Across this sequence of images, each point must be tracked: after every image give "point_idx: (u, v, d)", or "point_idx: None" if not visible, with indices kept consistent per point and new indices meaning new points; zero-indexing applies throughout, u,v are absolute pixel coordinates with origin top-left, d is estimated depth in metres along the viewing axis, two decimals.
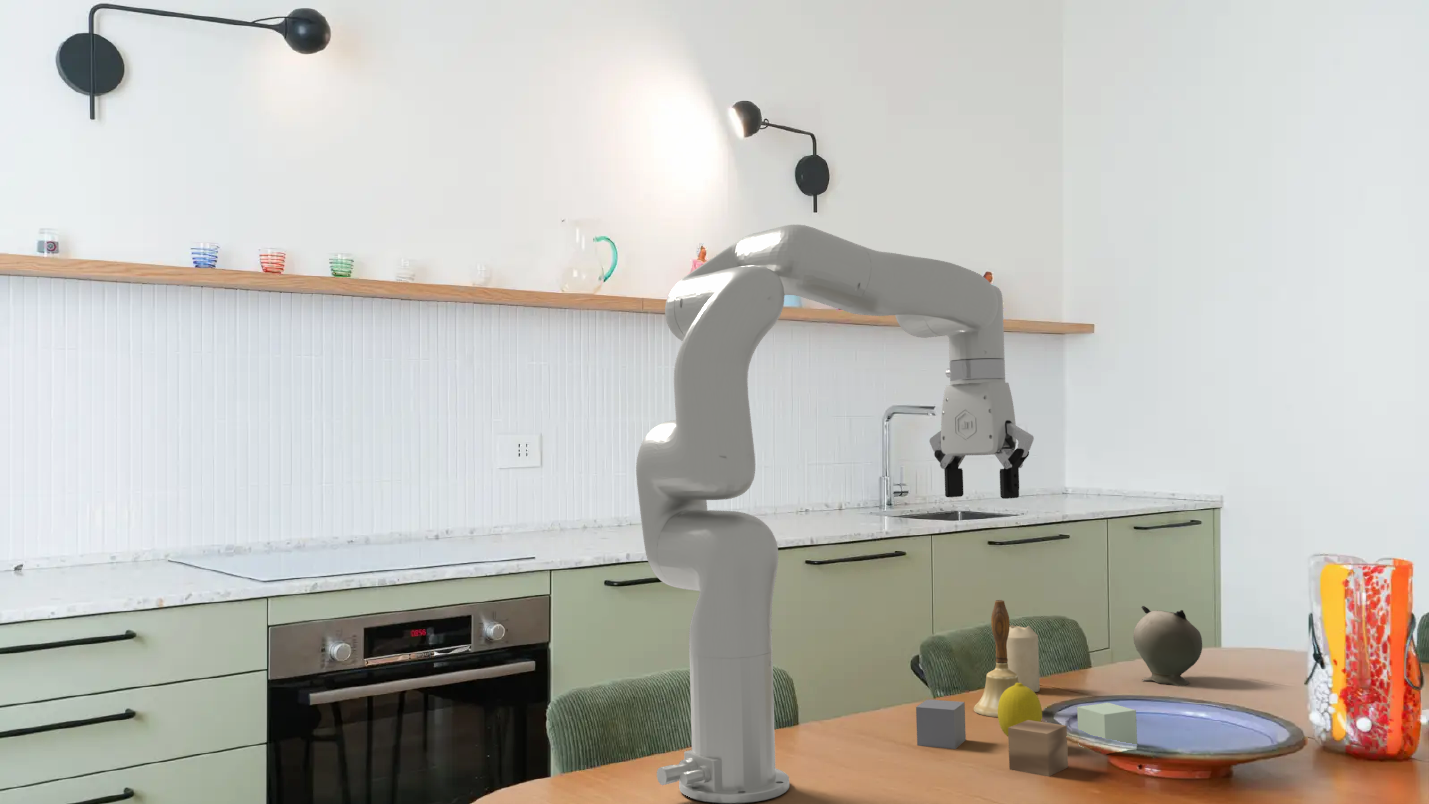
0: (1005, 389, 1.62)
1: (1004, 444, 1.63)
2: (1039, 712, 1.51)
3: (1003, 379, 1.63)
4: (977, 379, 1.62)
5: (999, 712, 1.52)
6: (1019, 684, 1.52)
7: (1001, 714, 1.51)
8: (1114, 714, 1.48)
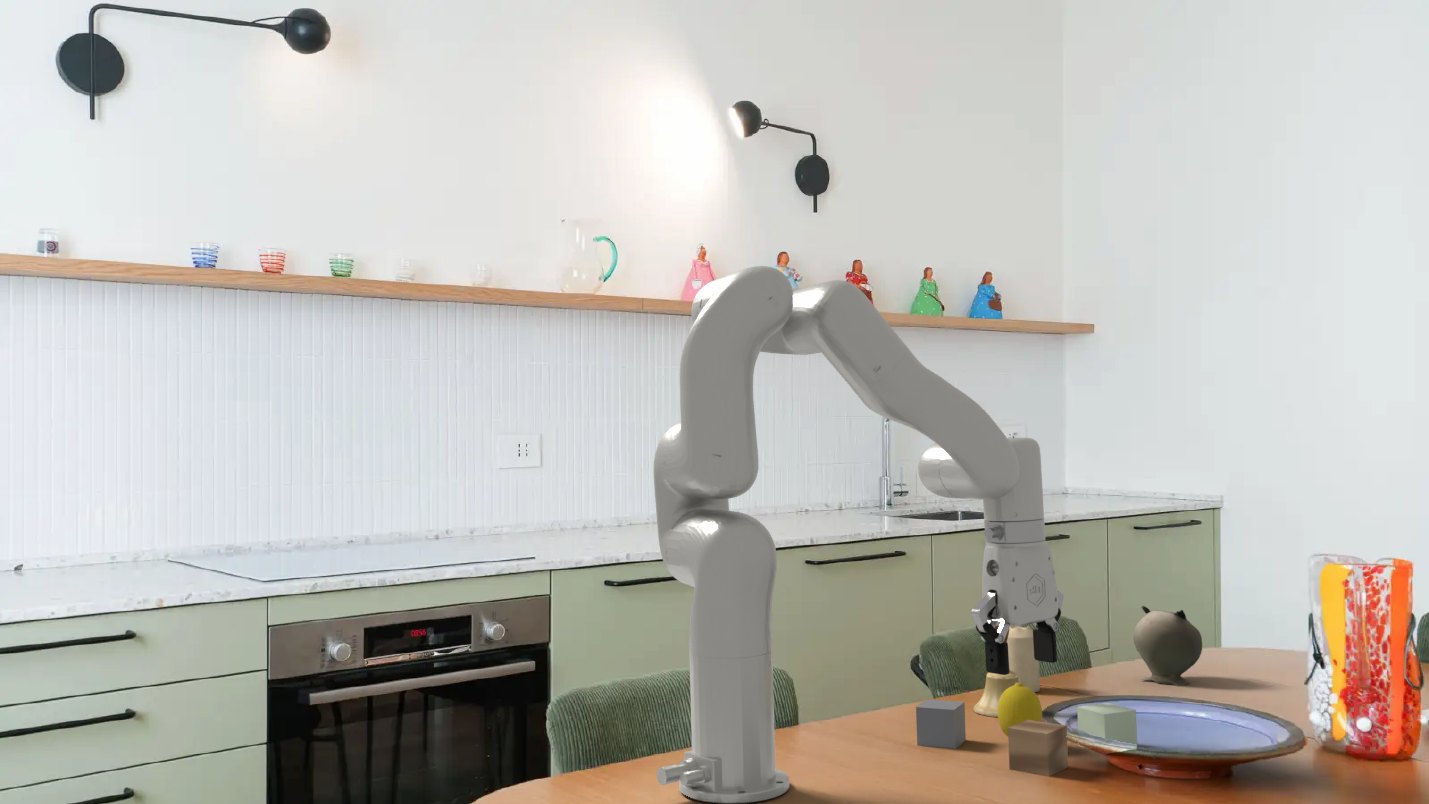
0: None
1: None
2: (1039, 712, 1.51)
3: None
4: (1044, 540, 1.52)
5: (999, 712, 1.52)
6: (1019, 684, 1.52)
7: (1001, 714, 1.51)
8: (1114, 714, 1.48)
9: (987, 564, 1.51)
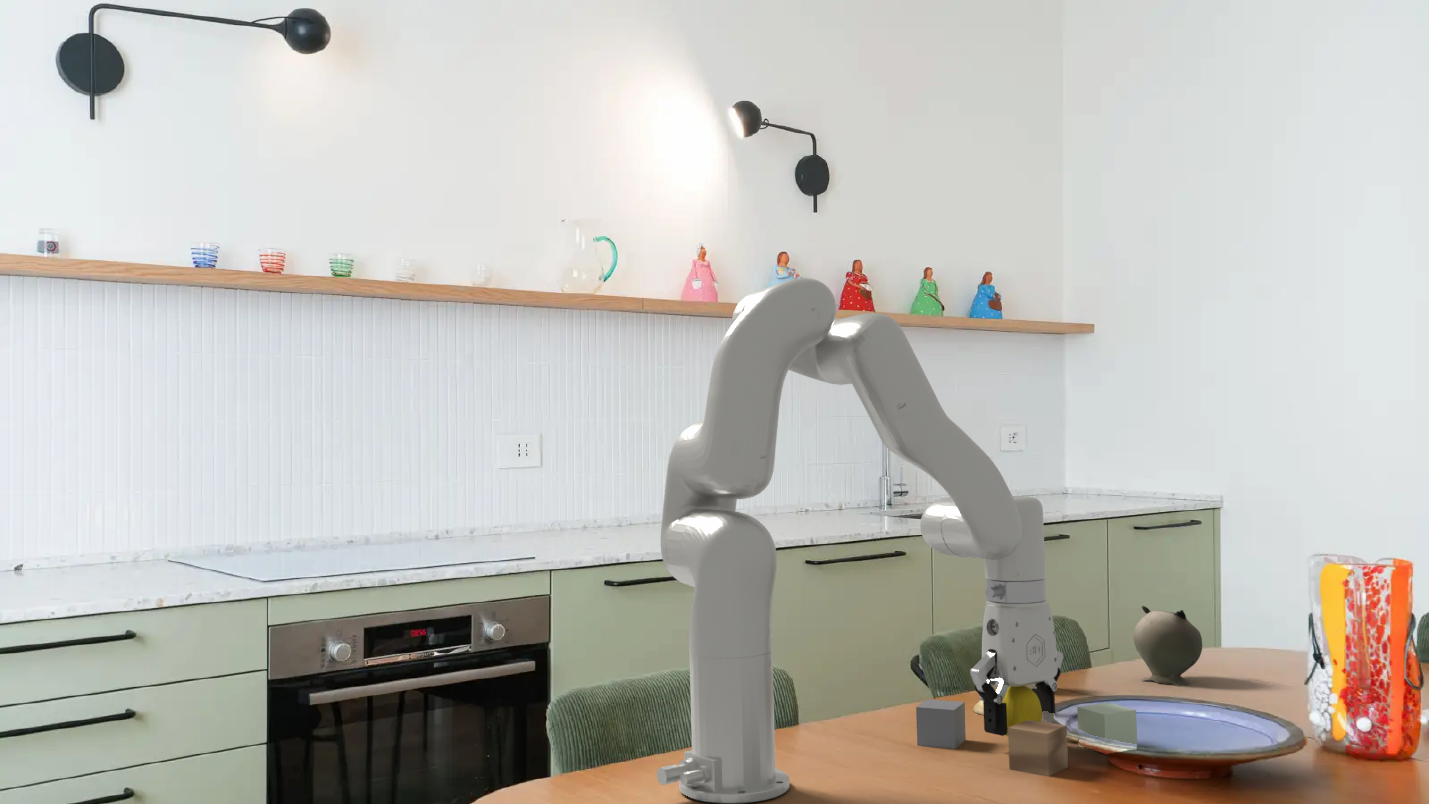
0: None
1: None
2: (1039, 712, 1.51)
3: None
4: (1045, 600, 1.52)
5: None
6: None
7: None
8: (1114, 714, 1.48)
9: (987, 623, 1.51)
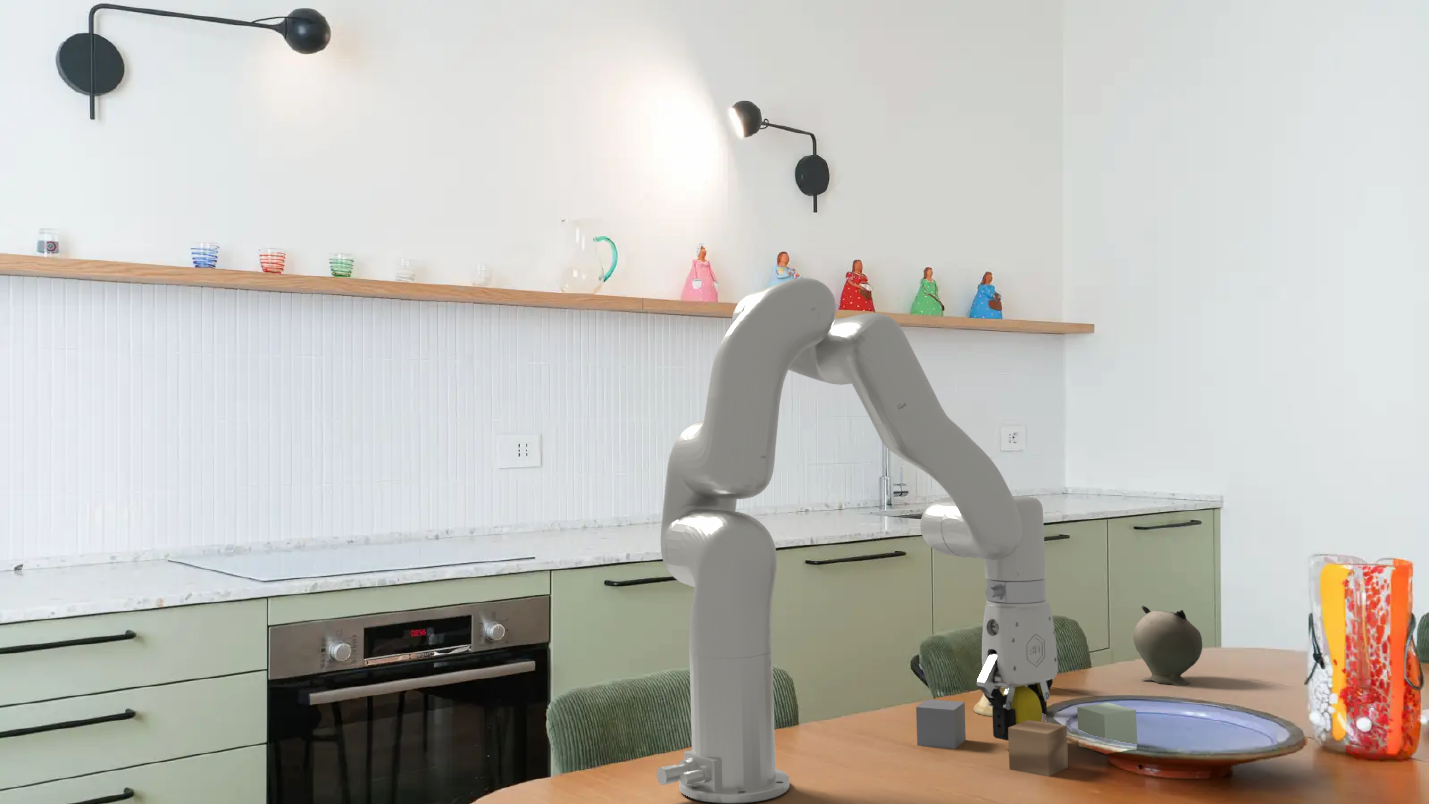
0: None
1: None
2: (1039, 712, 1.51)
3: None
4: (1045, 600, 1.52)
5: None
6: None
7: None
8: (1114, 714, 1.48)
9: (987, 623, 1.51)
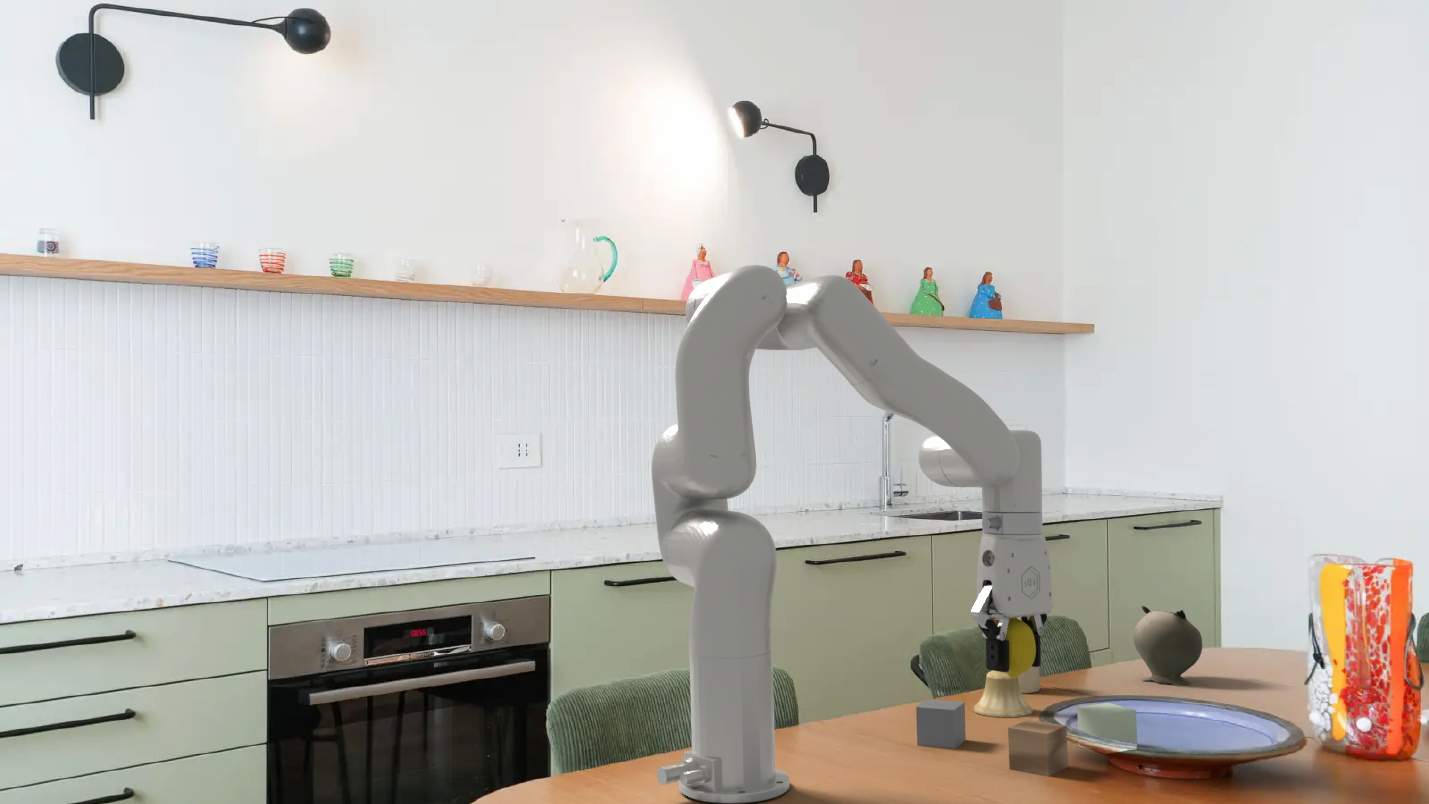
0: None
1: None
2: (1033, 645, 1.51)
3: None
4: None
5: None
6: None
7: None
8: (1114, 714, 1.48)
9: (983, 554, 1.51)
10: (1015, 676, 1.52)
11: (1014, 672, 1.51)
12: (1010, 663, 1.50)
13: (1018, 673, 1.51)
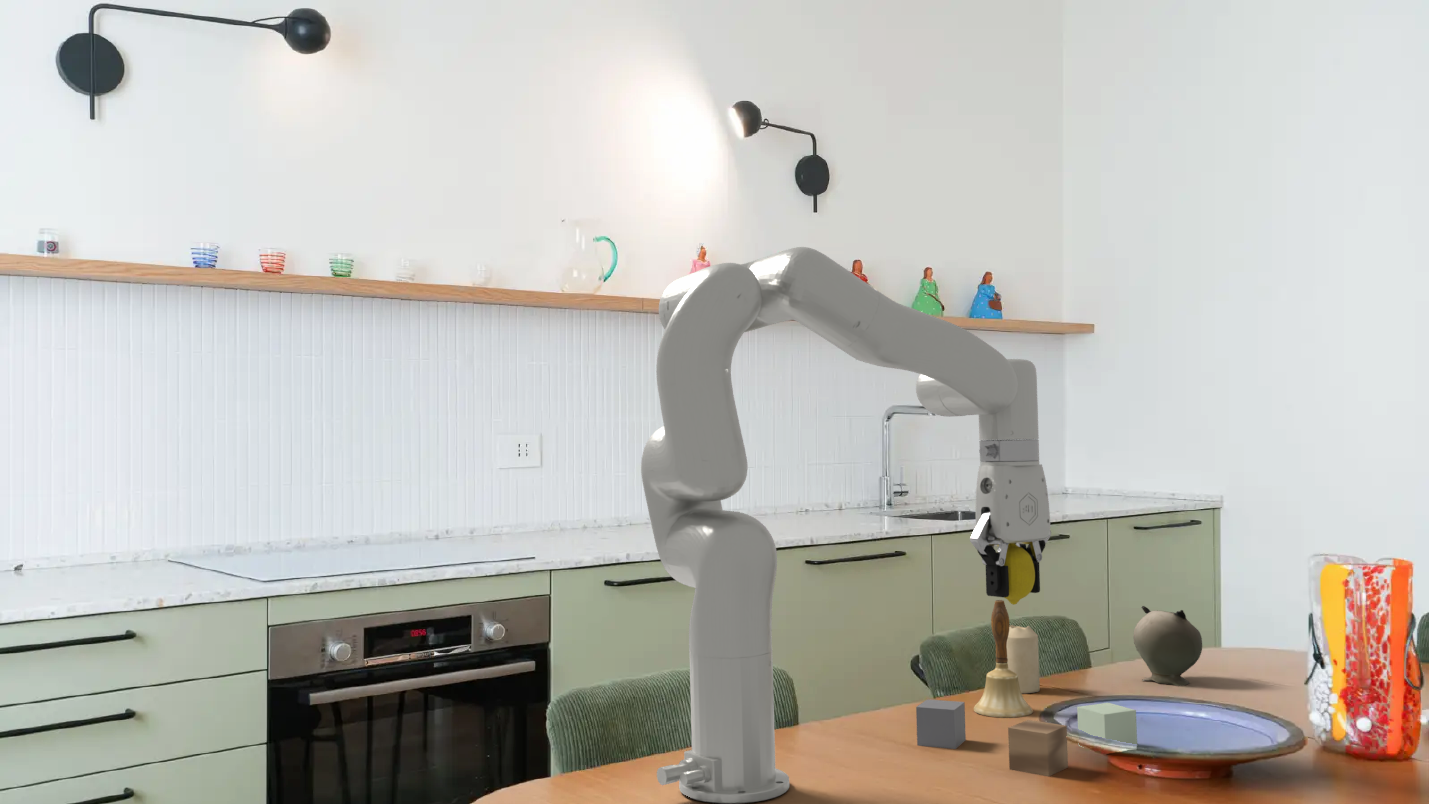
0: None
1: None
2: (1032, 570, 1.53)
3: None
4: (1038, 460, 1.54)
5: None
6: (1012, 544, 1.54)
7: None
8: (1114, 714, 1.48)
9: (981, 482, 1.53)
10: (1015, 602, 1.54)
11: (1014, 597, 1.53)
12: (1010, 588, 1.52)
13: (1018, 598, 1.53)
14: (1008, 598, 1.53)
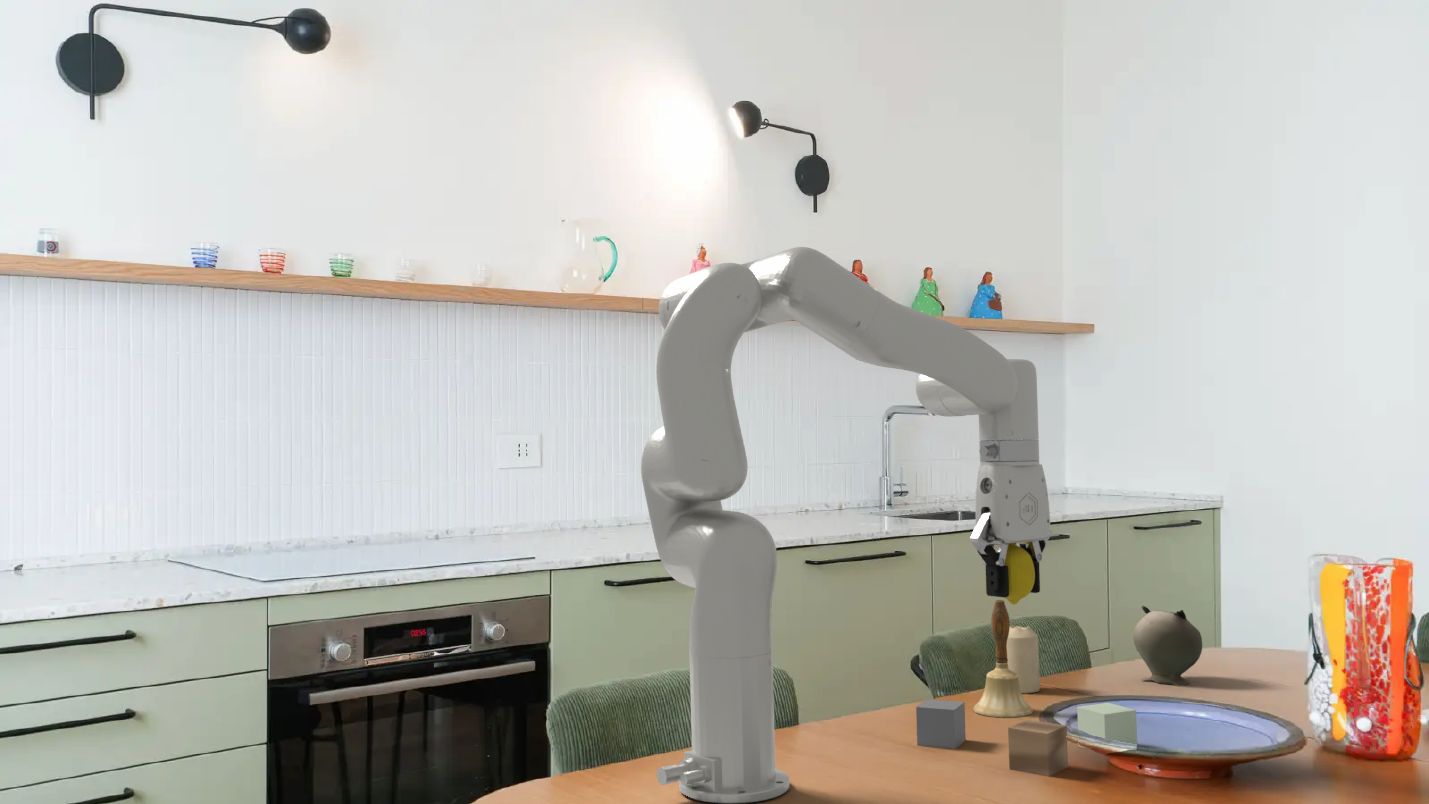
0: None
1: None
2: (1032, 570, 1.53)
3: None
4: (1038, 460, 1.54)
5: None
6: (1012, 544, 1.54)
7: None
8: (1114, 714, 1.48)
9: (981, 482, 1.53)
10: (1015, 601, 1.54)
11: (1014, 597, 1.53)
12: (1010, 588, 1.52)
13: (1018, 598, 1.53)
14: (1008, 598, 1.53)
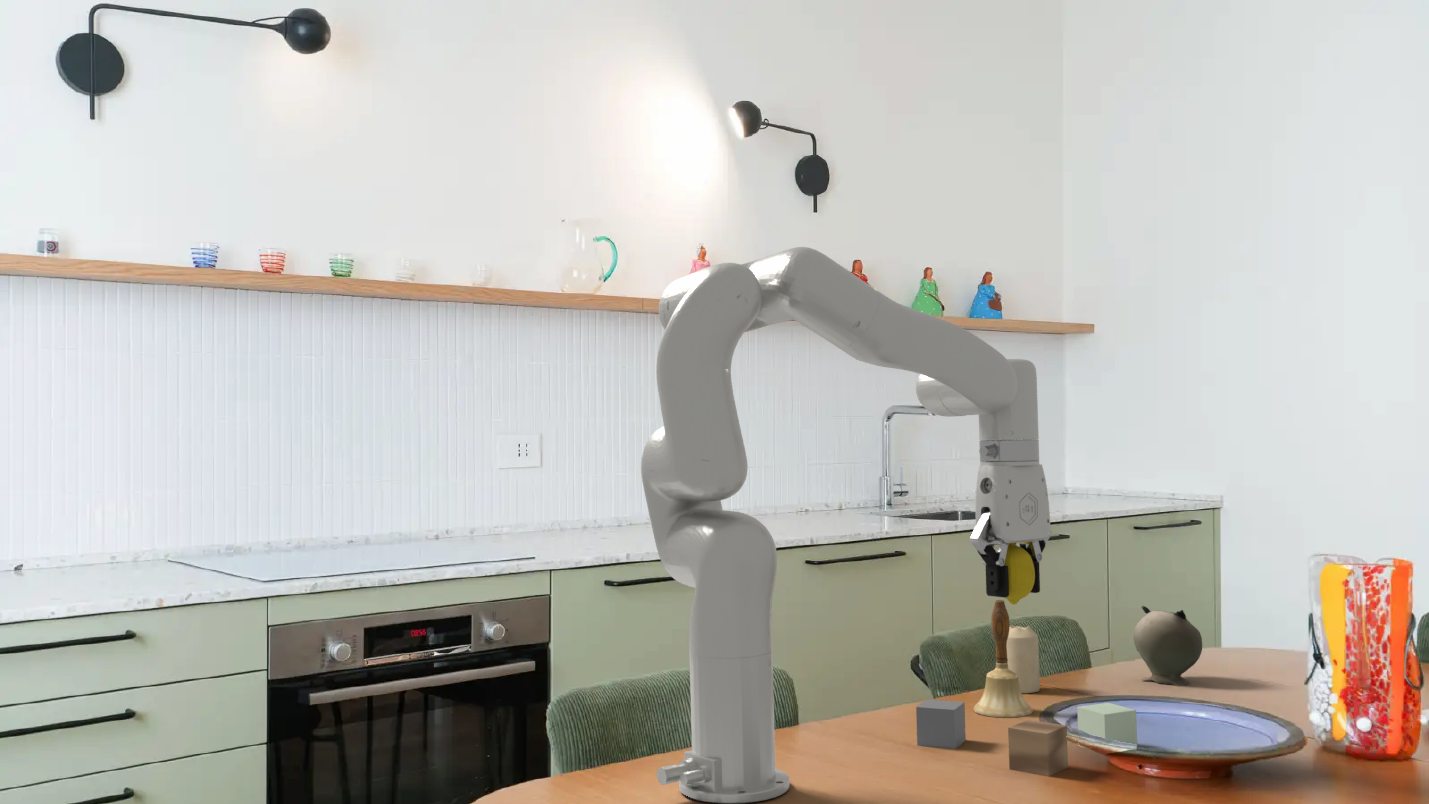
0: None
1: None
2: (1032, 570, 1.53)
3: None
4: (1038, 460, 1.54)
5: None
6: (1012, 544, 1.54)
7: None
8: (1114, 714, 1.48)
9: (981, 482, 1.53)
10: (1015, 601, 1.54)
11: (1014, 597, 1.53)
12: (1010, 588, 1.52)
13: (1018, 598, 1.53)
14: (1008, 598, 1.53)
